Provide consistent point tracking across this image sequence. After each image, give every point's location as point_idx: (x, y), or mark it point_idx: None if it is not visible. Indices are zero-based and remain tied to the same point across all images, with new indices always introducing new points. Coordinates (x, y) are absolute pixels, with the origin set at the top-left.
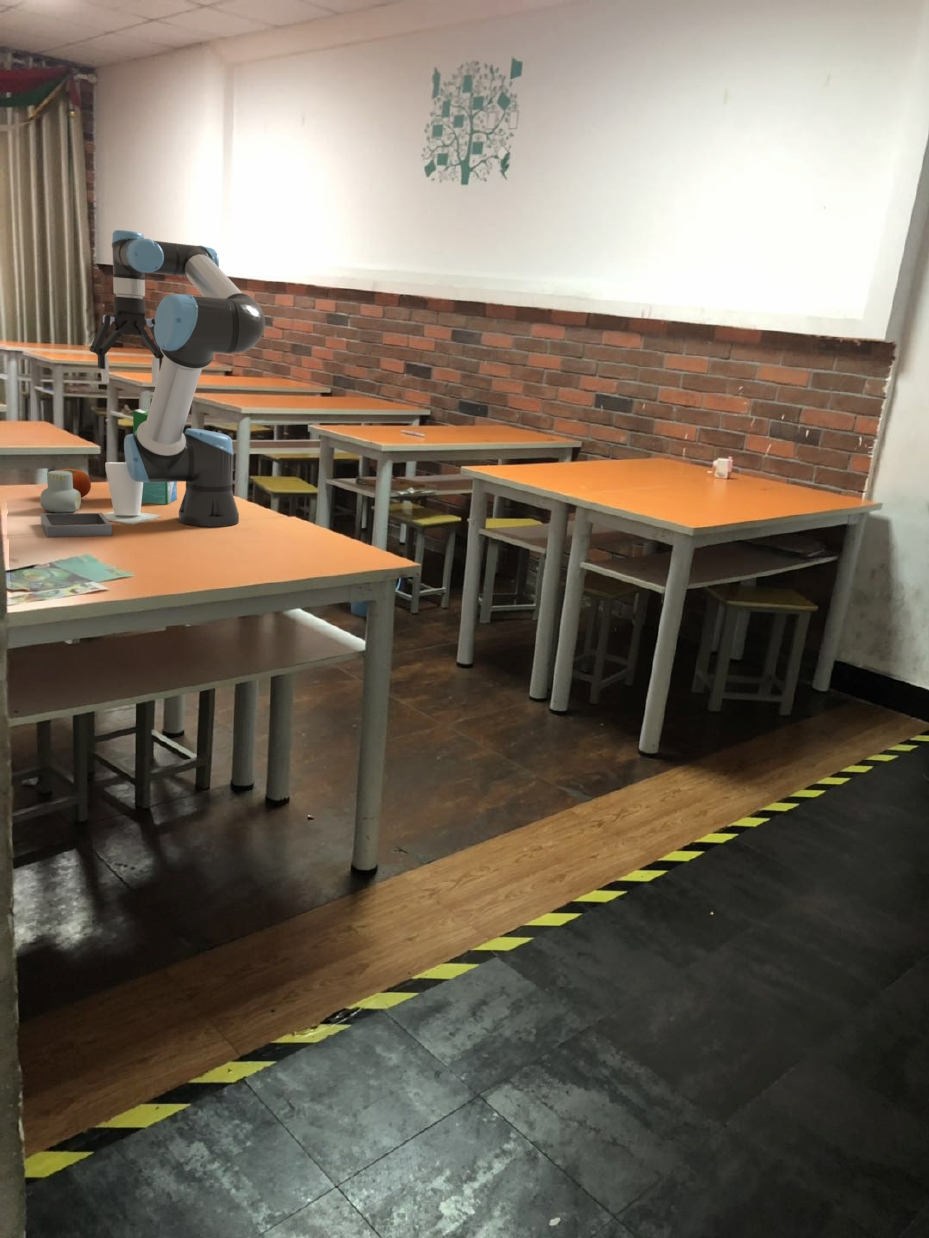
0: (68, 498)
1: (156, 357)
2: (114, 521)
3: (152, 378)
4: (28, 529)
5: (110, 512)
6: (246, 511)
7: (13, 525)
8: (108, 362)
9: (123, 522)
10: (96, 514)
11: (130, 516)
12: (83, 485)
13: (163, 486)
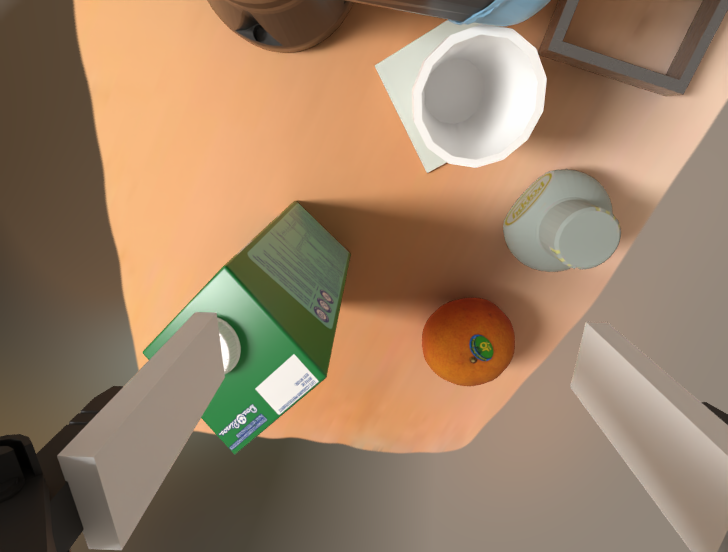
0: (572, 175)
1: (70, 516)
2: None
3: (211, 389)
4: (724, 48)
5: None
6: (131, 49)
7: (722, 106)
8: (696, 427)
9: None
10: (566, 43)
11: None
12: (458, 304)
13: (292, 215)
